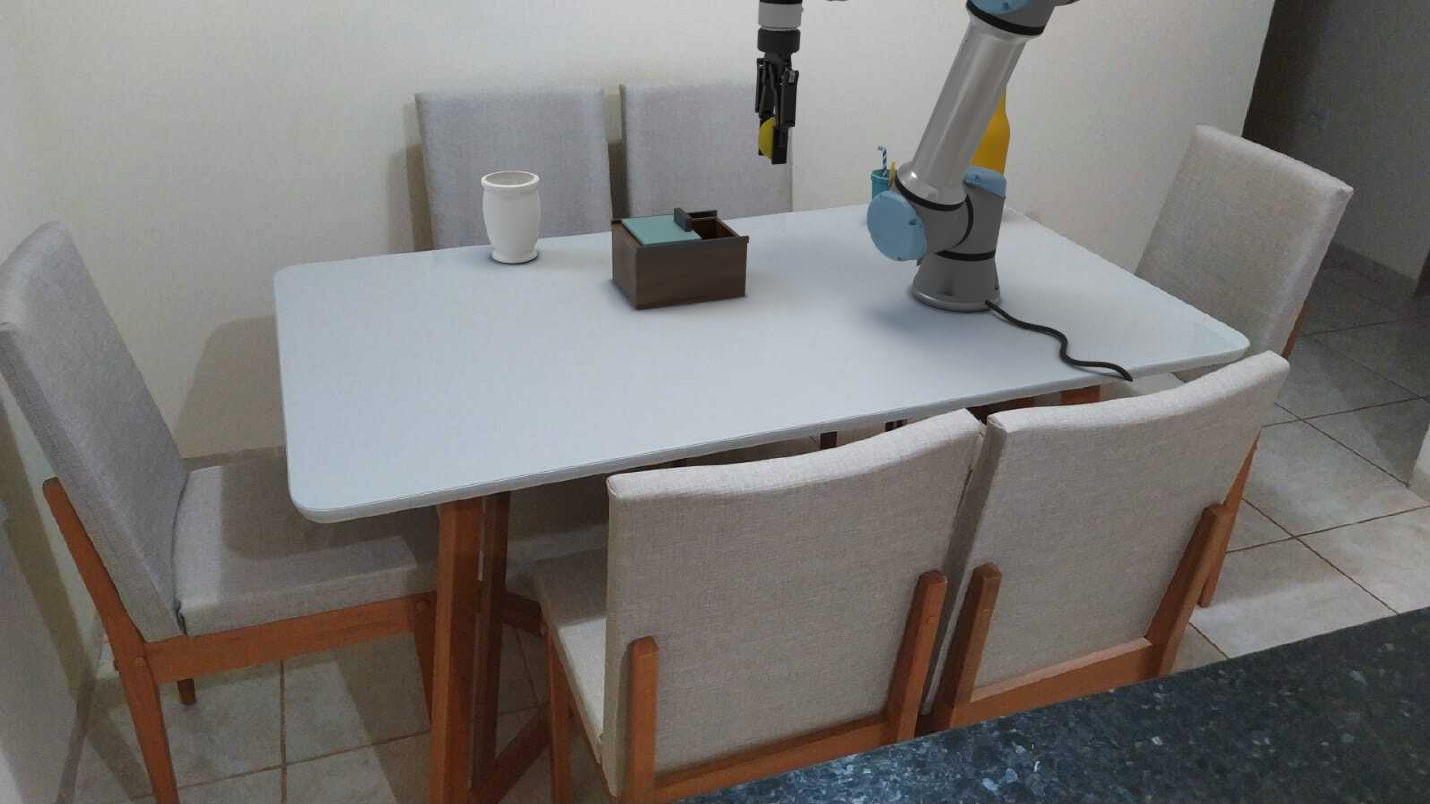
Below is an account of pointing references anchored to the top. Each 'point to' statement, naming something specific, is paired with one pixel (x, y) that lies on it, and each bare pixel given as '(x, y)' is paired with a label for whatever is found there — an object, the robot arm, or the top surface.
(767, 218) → the top surface
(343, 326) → the top surface
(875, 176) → the cup
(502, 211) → the jar
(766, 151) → the lemon
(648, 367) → the top surface
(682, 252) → the chest
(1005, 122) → the beer bottle
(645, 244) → the teal box lid
